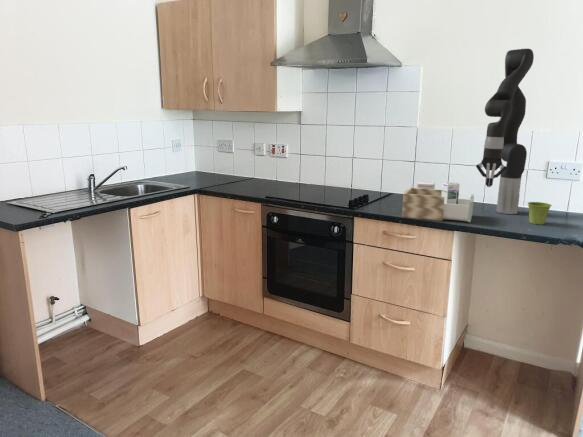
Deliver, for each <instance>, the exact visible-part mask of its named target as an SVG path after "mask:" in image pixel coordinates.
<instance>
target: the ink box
mask: <svg viewBox="0 0 583 437" xmlns="http://www.w3.org/2000/svg"><path fill="white" fill-rule="evenodd" d="M435 184H436V183H435V182H431V181H430V182H429V181H418V182H417V183H416V188H421V189H434V190H436V189H435V186H436V185H435Z"/></svg>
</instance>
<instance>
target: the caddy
mask: <svg viewBox="0 0 583 437" xmlns="http://www.w3.org/2000/svg"><path fill="white" fill-rule="evenodd" d="M441 195H442V189H421V188H417V187H409V188H408V189H407V190H406V191H405V192H403V194H402V209H401V210H402V211H401V218H405V219H416V220H425V221H426V220H427V221H437V222H443V221H444V219H443V210H444V198H445V197H442V196H441Z"/></svg>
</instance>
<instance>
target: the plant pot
mask: <svg viewBox="0 0 583 437" xmlns="http://www.w3.org/2000/svg"><path fill="white" fill-rule="evenodd" d="M527 205H528V222H529V223H530V224H533V225H541V226H542V225H545V224H546V220H547V216H548V213H549V210H550V209H551V207H552V204H550V203H547V202H539V201H529V202H527Z"/></svg>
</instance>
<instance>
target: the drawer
mask: <svg viewBox="0 0 583 437" xmlns="http://www.w3.org/2000/svg"><path fill="white" fill-rule="evenodd" d="M474 201H475V194H474V193H473V194H470V198H458V204H447V203H444V210H443V220H452V221H459V222H460V221H463V222H467V223H471V222H472V217H473V211H474Z"/></svg>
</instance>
